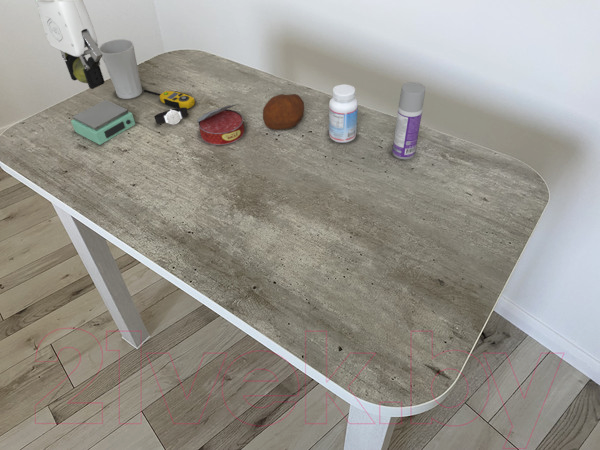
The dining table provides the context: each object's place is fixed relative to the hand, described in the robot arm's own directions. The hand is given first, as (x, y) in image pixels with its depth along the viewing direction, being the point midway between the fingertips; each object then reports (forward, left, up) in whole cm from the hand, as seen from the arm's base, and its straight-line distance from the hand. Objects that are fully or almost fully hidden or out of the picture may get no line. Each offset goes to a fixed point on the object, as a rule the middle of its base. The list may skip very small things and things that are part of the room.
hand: (88, 80), depth 96 cm
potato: (+27, -27, -15) cm, 42 cm away
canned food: (+17, -17, -15) cm, 29 cm away
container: (+33, -54, -15) cm, 66 cm away
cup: (+17, +15, -15) cm, 28 cm away
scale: (+3, +6, -15) cm, 17 cm away
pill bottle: (+31, -40, -15) cm, 53 cm away
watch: (+14, -4, -15) cm, 21 cm away
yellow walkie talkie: (+20, +4, -15) cm, 26 cm away
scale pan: (+3, +6, -12) cm, 14 cm away
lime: (0, 0, -1) cm, 1 cm away
